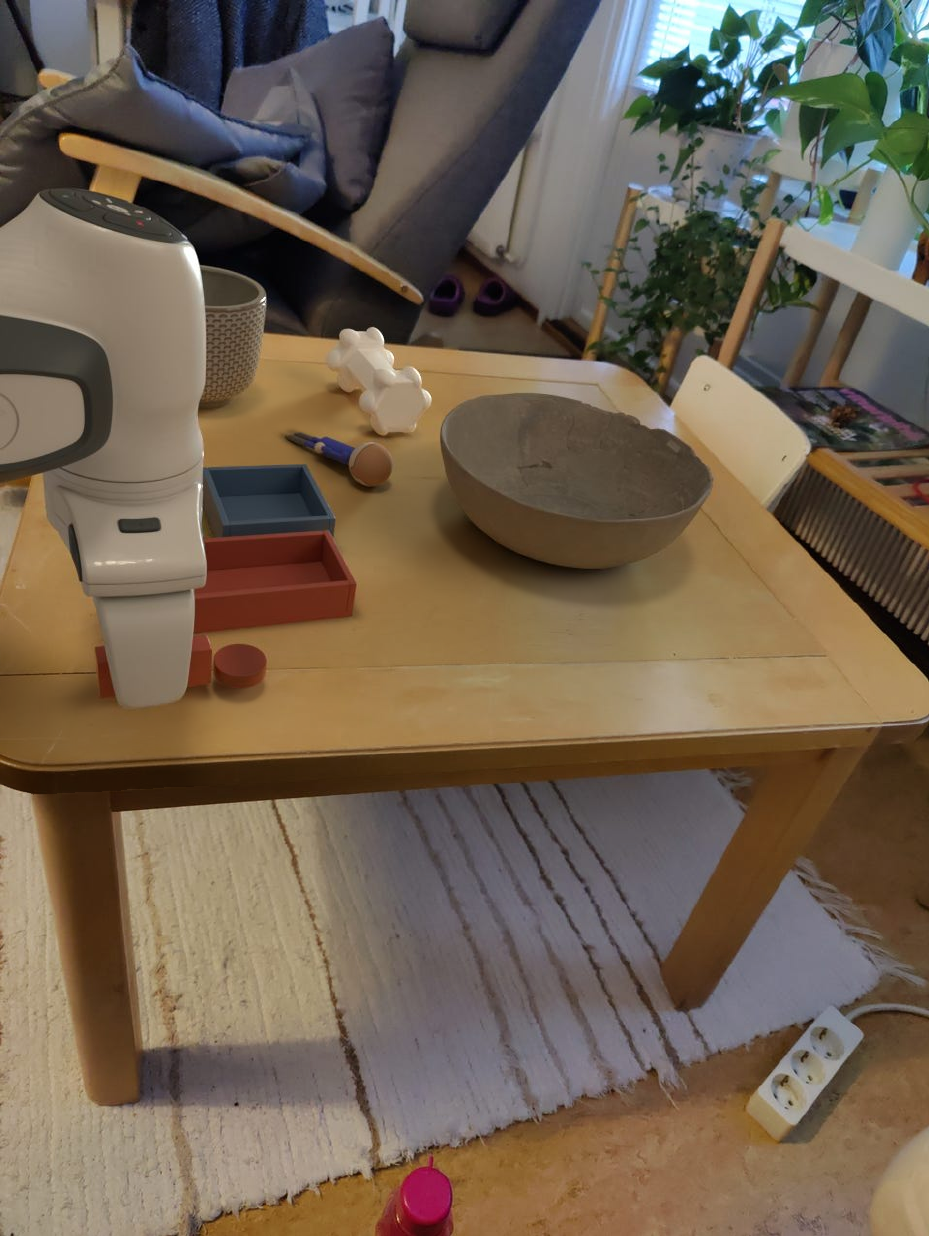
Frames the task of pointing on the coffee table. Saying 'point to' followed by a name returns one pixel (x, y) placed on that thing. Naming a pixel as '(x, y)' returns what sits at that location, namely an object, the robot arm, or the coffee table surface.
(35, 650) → the coffee table surface
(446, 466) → the bowl
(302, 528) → the blue bin
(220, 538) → the red bin
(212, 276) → the planter
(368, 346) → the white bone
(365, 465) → the toy
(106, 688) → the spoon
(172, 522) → the robot arm
